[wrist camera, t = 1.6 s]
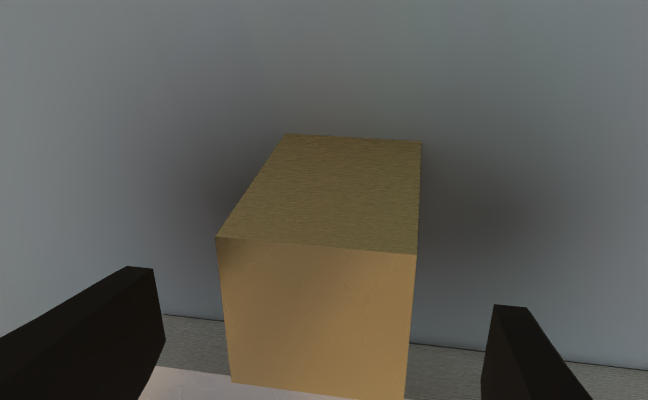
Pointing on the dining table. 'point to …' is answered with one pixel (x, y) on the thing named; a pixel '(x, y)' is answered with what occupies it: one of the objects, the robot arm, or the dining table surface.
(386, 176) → the brass block
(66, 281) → the dining table surface
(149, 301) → the robot arm
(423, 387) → the rail
